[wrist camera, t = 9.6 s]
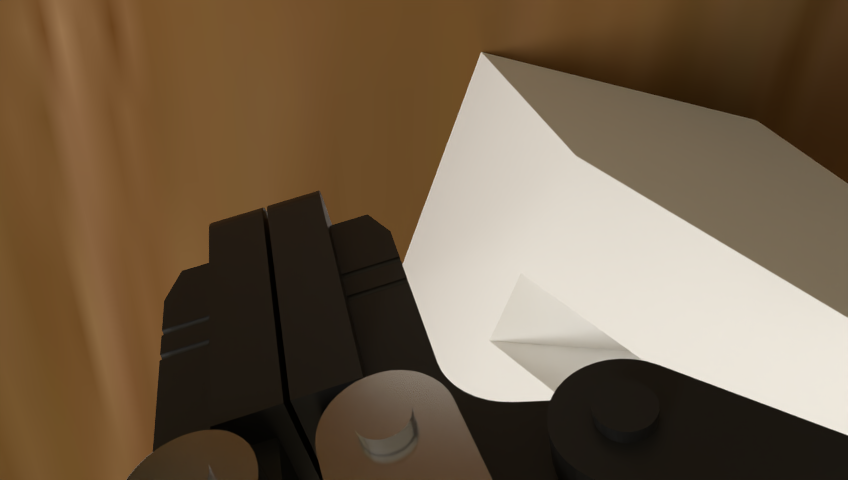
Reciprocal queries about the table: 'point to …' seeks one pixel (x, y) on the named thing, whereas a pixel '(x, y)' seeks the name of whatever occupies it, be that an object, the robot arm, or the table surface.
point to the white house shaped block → (630, 245)
